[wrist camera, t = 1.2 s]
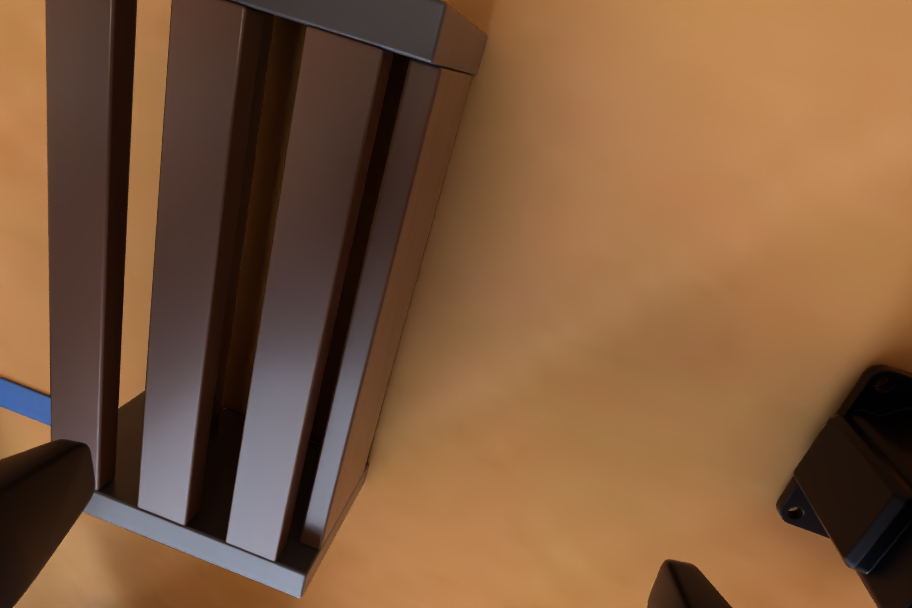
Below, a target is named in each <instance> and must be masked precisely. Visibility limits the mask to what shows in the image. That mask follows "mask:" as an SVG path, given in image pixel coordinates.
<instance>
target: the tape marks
mask: <svg viewBox="0 0 912 608" xmlns="http://www.w3.org/2000/svg"><path fill="white" fill-rule="evenodd" d="M0 406H1V407H4V408H6V409H9V410H11V411H14V412H16V413H19V414H21V415H24V416H27V417H29V418H32V419H34V420H37V421H39V422H42V423H45V424H47V425H50V426H51V397H50V396H47V395H44V394H42V393H39V392H37V391H34V390H31V389H29V388H26V387H24V386H21V385H18V384H16V383H13V382H11V381H8V380H5V379H3V378H0Z"/></svg>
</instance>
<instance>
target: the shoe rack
mask: <svg viewBox="0 0 912 608" xmlns="http://www.w3.org/2000/svg"><path fill="white" fill-rule="evenodd" d="M274 15H276V16H279V17H282V18H286V19H289V20H292V21H295V22H298V23H302V24H305V25H308V26H307V28H306V33H305V39H304V45H303V52H302V58H301V64H300V71H299V77H298V84H297V90H296V96H295V103H294V109H293V115H292V122H291V128H290V134H289V141H288V147H287V153H286V160H285V166H284V173H283V179H282V185H281V192H280V198H279V204H278V211H277V217H276V223H275V230H274V236H273V242H272V249H271V255H270V262H269V268H268V274H267V281H266V287H265V293H264V300H263V306H262V312H261V319H260V325H259V331H258V338H257V344H256V351H255V357H254V363H253V370H252V376H251V382H250V389H249V395H248V401H247V408H246V414H245V416H244V415H241V414H238V413H236V412H233V411H230V410H228V409H225V408H222V407H221V406H222V399H223V391H224V384H225V376H226V369H227V362H228V354H229V347H230V339H231V332H232V325H233V317H234V310H235V303H236V295H237V288H238V280H239V273H240V266H241V258H242V251H243V243H244V236H245V229H246V221H247V214H248V207H249V199H250V192H251V184H252V177H253V170H254V162H255V155H256V147H257V140H258V133H259V125H260V118H261V110H262V103H263V96H264V88H265V81H266V74H267V66H268V59H269V51H270V44H271V37H272V29H273V22H274ZM136 16H137V0H46V78H47V158H48V237H49V317H50V396H51V442H52V441H54V440H58V439H68V440H73V441H78V442H83V443H85V444H87V445H88V446H89V448H90V450H91V455H92V461H93V468H94V475H95V482H96V485H95V491H94V494H93V496H92V498H91V500H90V502H89V503H88V505H87V506H86V507H85V509H84V510H83V512H84V513H87V514H89V515H92V516H94V517H97V518H99V519H102V520H104V521H107V522H109V523H112V524H114V525H117V526H119V527H122V528H124V529H127V530H129V531H132V532H134V533H137V534H139V535H142V536H144V537H147V538H149V539H152V540H154V541H157V542H159V543H162V544H164V545H167V546H169V547H172V548H174V549H177V550H179V551H182V552H184V553H187V554H189V555H192V556H194V557H197V558H199V559H202V560H204V561H207V562H209V563H212V564H214V565H217V566H219V567H222V568H224V569H227V570H229V571H232V572H234V573H237V574H239V575H242V576H244V577H247V578H249V579H252V580H254V581H257V582H259V583H261V584H264V585H266V586H269V587H271V588H274V589H276V590H279V591H281V592H284V593H286V594H289V595H291V596H294V597H296V598H301V597H302V596H303V594H304V592H305V591H306V589H307V587H308V585H309V583H310V581H311V579H312V578H313V576H314V574H315V572H316V570H317V568H318V567H319V565H320V563H321V561H322V559H323V557H324V556H325V554H326V552H327V550H328V548H329V546H330V544H331V543H332V541H333V539H334V537H335V535H336V533H337V532H338V530H339V528H340V526H341V524H342V522H343V521H344V519H345V517H346V515H347V513H348V511H349V510H350V508H351V506H352V504H353V502H354V500H355V498H356V497H357V495H358V493H359V491H360V489H361V487H362V486H363V484H364V481H365V477H366V473H367V470H368V466H369V463H368V462H366V461H367V458H368V454H369V450H370V447H371V443H372V439H373V436H374V432H375V428H376V425H377V421H378V417H379V414H380V410H381V406H382V403H383V399H384V396H385V392H386V388H387V385H388V381H389V377H390V374H391V370H392V366H393V363H394V359H395V355H396V352H397V348H398V344H399V341H400V337H401V333H402V330H403V326H404V323H405V319H406V315H407V312H408V308H409V304H410V301H411V297H412V293H413V290H414V286H415V282H416V279H417V275H418V271H419V268H420V264H421V260H422V257H423V253H424V250H425V246H426V242H427V239H428V235H429V231H430V228H431V224H432V220H433V217H434V213H435V209H436V206H437V202H438V198H439V195H440V191H441V188H442V184H443V180H444V177H445V173H446V169H447V166H448V162H449V158H450V155H451V151H452V147H453V144H454V140H455V136H456V133H457V129H458V125H459V122H460V118H461V115H462V111H463V107H464V104H465V100H466V96H467V93H468V89H469V85H470V82H471V75H470V74H472V75H476V74H477V73H478V69H479V66H480V62H481V59H482V55H483V51H484V48H485V44H486V41H487V35H486V34H485V33H484V32H483V31H481V30H480V29H479V28H478V27H476V26H475V25H474V24H472V23H471V22H470V21H469V20H467V19H466V18H465V17H463V16H462V15H461V14H460V13H458V12H457V11H456V10H454V9H453V8H452V7H451V6H449V5H448V4H447V3H446V2H444V1H441V0H172V6H171V20H170V35H169V50H168V64H167V79H166V94H165V108H164V123H163V137H162V152H161V167H160V181H159V196H158V210H157V225H156V240H155V254H154V269H153V284H152V298H151V313H150V327H149V342H148V357H147V371H146V386H145V391H144V392H142V393H141V394H139V395H138V396H136V397H135V398H133V399H132V400H130V401H129V402H127V403H126V404H124V405H123V406H122V407H120V408H119V409H118V405H119V384H120V362H121V340H122V319H123V297H124V275H125V254H126V232H127V210H128V189H129V167H130V145H131V124H132V102H133V81H134V59H135V37H136ZM393 52H395V53H398V54H401V55H404V56H407V57H411V58H412V59H411V60H410V62H409V66H408V70H407V75H406V79H405V83H404V88H403V92H402V97H401V101H400V105H399V110H398V114H397V118H396V123H395V127H394V131H393V136H392V140H391V144H390V149H389V153H388V157H387V162H386V166H385V171H384V175H383V179H382V184H381V188H380V192H379V197H378V201H377V205H376V210H375V214H374V218H373V223H372V227H371V231H370V236H369V240H368V245H367V249H366V253H365V258H364V262H363V266H362V271H361V275H360V279H359V284H358V288H357V292H356V297H355V301H354V305H353V310H352V314H351V319H350V323H349V327H348V332H347V336H346V340H345V345H344V349H343V353H342V358H341V362H340V366H339V371H338V375H337V379H336V384H335V388H334V393H333V397H332V401H331V406H330V410H329V414H328V419H327V423H326V427H325V432H324V436H323V440H322V445H321V444H318V443H316V442H313V441H310V440H309V439H310V435H311V430H312V425H313V421H314V416H315V412H316V407H317V402H318V398H319V393H320V389H321V384H322V379H323V375H324V370H325V366H326V361H327V357H328V352H329V347H330V343H331V338H332V334H333V329H334V324H335V320H336V315H337V311H338V306H339V301H340V297H341V292H342V288H343V283H344V278H345V274H346V269H347V265H348V260H349V256H350V251H351V246H352V242H353V237H354V233H355V228H356V223H357V219H358V214H359V210H360V205H361V200H362V196H363V191H364V187H365V182H366V177H367V173H368V168H369V164H370V159H371V155H372V150H373V145H374V141H375V136H376V132H377V127H378V122H379V118H380V113H381V109H382V104H383V99H384V95H385V90H386V86H387V81H388V77H389V72H390V67H391V63H392V58H393Z"/></svg>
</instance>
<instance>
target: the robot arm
mask: <svg viewBox="0 0 912 608" xmlns="http://www.w3.org/2000/svg"><path fill="white" fill-rule="evenodd" d="M884 377H887V378H888V379H887V382H885V383H884V384H883V385H880V386H876V383H877V381H878V380H879V379H881V378H884ZM95 485H96V482H95V475H94V468H93V461H92V455H91V450H90V448H89V446H88V445H87V444H85V443H83V442H78V441H73V440H68V439H58V440H54V441H52V442H49V443H46V444H43V445H40V446H38V447H35V448H32V449H29V450H27V451H24V452H21V453H18V454H15V455H13V456H10V457H7V458H4V459H1V460H0V608H13V607H14V606H15V604H16V603H17V602H18V601H19V599H20V598H21V597H22V596H23V594H24V593H25V592H26V591H27V589H28V588H29V586H30V585H31V584H32V582H33V581H34V580H35V578H36V577H37V576H38V574H39V573H40V571H41V570H42V569H43V567H44V566H45V564H46V563H47V561H48V560H49V559H50V557H51V556H52V554H53V553H54V552H55V550H56V549H57V547H58V546H59V544H60V543H61V542H62V540H63V539H64V537H65V536H66V534H67V533H68V532H69V530H70V529H71V527H72V526H73V524H74V523H75V522H76V520H77V519H78V517H79V516H80V514H81V513H82V512H83V510H84V509H85V507H86V506H87V505H88V503H89V502H90V500H91V498H92V496H93V494H94V491H95ZM776 507H777V510H778V512H779V514H780V516H781V518H782V519H783V520H784V521H785V522H787V523H789V524H792V525H795V526H797V527H800V528H803V529H806V530H808V531H811V532H814V533H817V534H820V535H822V536H825V537H828V538H830V539H831V541H832V542H833V544H834V546H835V547H836V549H837V551H838V553H839V554H840V556H841V558H842V559H843V561H844V563H845V564H846V565H847V566H848V567H849V568H851V569H854V570H855V571H856V572H857V574H858V576H859V577H860V579H861V581H862V582H863V584H864V586H865V587H866V589H867V590H868V592H869V594H870V595H871V597H872V599H873V600H874V602H875V604H876V605H877V607H878V608H912V374H911V373H908V372H905V371H902V370H899V369H896V368H893V367H890V366H886V365H876V366H872V367H870V368H868V369H867V370H866V371H865V372H864V373H863V374H862V376H861V377H860V379H859V380H858V382H857V383H856V385H855V386H854V388H853V389H852V391H851V392H850V393H849V395H848V396H847V398H846V399H845V401H844V402H843V404H842V405H841V407H840V408H839V410H838V411H837V413H836V414H835V416H833V417H831V418H830V419H829V420H828V422H827V423H826V425H825V426H824V428H823V429H822V431H821V432H820V434H819V435H818V437H817V438H816V440H815V441H814V443H813V444H812V445H811V447H810V448H809V450H808V451H807V453H806V454H805V456H804V457H803V459H802V460H801V462H800V463H799V465H798V466H797V468H796V469H795V471H794V477H793V478H792V480H791V481H790V483H789V484H788V486H787V487H786V489H785V490H784V492H783V493H782V495H781V496H780V498H779V499H778V501H777V504H776ZM793 507H799V508H798V509H797V510H794V511H788V510H789V509H790V508H793ZM647 608H732V607H731V606H730V605H729V604H728V602H727V601H726V600H725V599H724V598H723V597H722V596H721V594H720V593H719V592H718V591H717V590H716V589H715V587H714V586H713V585H712V584H711V583H710V582H709V581H708V579H707V578H706V577H705V576H704V575H703V574H702V572H701V571H700V570H699V569H698V568H697V567H696V566H694V565H693V564H690V563H686V562H681V561H676V560H671V559H669V560H665V561H664V562H663V563H662V565H661V567H660V570H659V572H658V575H657V578H656V580H655V583H654V585H653V588H652V590H651V593H650V596H649V599H648V606H647Z"/></svg>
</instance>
